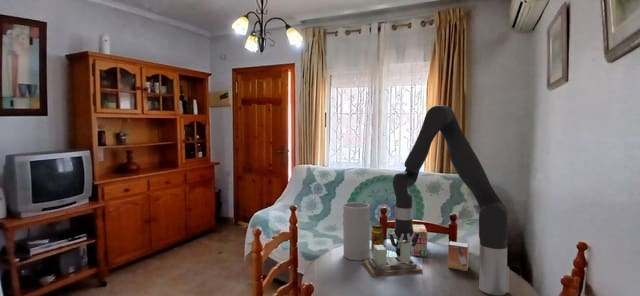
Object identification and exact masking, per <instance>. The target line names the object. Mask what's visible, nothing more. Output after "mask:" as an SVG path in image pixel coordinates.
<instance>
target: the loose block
mask: <svg viewBox="0 0 640 296" xmlns="http://www.w3.org/2000/svg"><path fill="white" fill-rule="evenodd" d="M411 255H412V247H411V243H409V242H407V241H406V240H403V241H402V243H400V256H398V255H397V254H396V257H397V258H398V259H399V260H400V261H401V262H410V258H411Z"/></svg>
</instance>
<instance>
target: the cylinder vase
mask: <svg viewBox="0 0 640 296" xmlns="http://www.w3.org/2000/svg"><path fill="white" fill-rule="evenodd" d="M342 209H343V212H342V213H343V215H342V216H343V217H342V218H343V220H342V221H343V222H342V224H343V226H342V227H343V234H342V235H343V236H342V237H343V238H342V239H343V257H344V258H345V259H347V260H350V261H355V262H356V261H358V262H360V261H363V260H368V258H370V255H371V254H370V253H371V252H370V250H371V249H370V248H371V246H370V243H371V242H370V237H371V236H370V204H369V203H365V202H357V201H355V202H347V203H344V204H343V207H342Z"/></svg>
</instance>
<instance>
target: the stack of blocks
mask: <svg viewBox="0 0 640 296" xmlns="http://www.w3.org/2000/svg"><path fill="white" fill-rule="evenodd" d="M412 229H413V231H414V232H418V233H419V237H418V240H417V243H416V246H412V247H411V250H412V253H413V256H414V257H428V256H427V255H428V251H427V250H428V247H427V246H428V231H427V228H426V226H425V225H424V224H415V223H413V228H412ZM412 238H413V234H412V236H411V237H410V239H411V241H412Z"/></svg>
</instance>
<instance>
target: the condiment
mask: <svg viewBox="0 0 640 296" xmlns="http://www.w3.org/2000/svg"><path fill="white" fill-rule="evenodd" d="M373 245H383V246H384V247H385V248H387V245H386V244H385V245H384V230H383V225H382V224H380V223H379V224H372V226H371V246H370V250H372V251H373Z"/></svg>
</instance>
